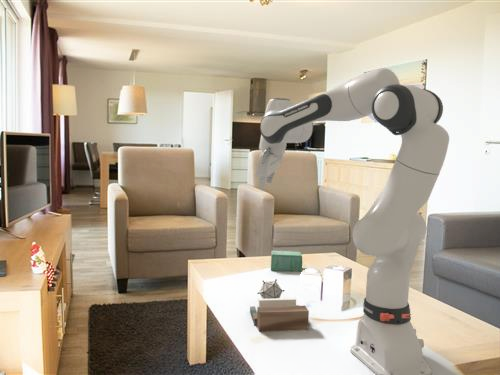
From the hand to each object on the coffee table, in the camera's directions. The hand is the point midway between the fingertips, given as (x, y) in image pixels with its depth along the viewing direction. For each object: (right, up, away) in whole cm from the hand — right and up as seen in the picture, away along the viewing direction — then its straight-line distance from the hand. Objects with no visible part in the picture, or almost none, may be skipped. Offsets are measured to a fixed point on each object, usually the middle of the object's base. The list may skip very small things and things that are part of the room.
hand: (265, 185), depth 159 cm
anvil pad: (+3, -43, -9) cm, 44 cm away
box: (+10, -37, +43) cm, 58 cm away
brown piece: (+4, -43, -13) cm, 45 cm away
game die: (+2, -41, +2) cm, 42 cm away
